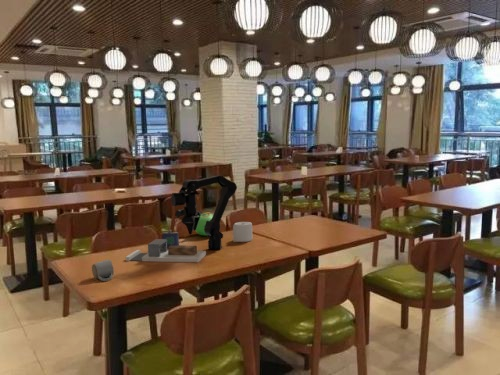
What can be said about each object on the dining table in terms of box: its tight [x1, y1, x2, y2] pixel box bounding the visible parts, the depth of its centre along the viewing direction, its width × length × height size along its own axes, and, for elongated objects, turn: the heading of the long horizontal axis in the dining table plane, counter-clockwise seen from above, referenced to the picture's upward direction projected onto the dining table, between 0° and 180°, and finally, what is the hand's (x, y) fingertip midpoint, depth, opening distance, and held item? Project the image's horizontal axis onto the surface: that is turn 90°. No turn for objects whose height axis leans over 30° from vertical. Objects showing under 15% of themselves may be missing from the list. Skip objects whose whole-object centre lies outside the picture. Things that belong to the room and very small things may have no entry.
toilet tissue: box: [232, 221, 254, 243], centre depth 263 cm, size 11×12×10 cm
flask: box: [161, 229, 180, 250], centre depth 250 cm, size 9×3×11 cm, turn 87°
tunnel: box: [147, 238, 168, 257], centre depth 232 cm, size 6×11×6 cm, turn 170°
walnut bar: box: [167, 244, 198, 256], centre depth 230 cm, size 14×4×4 cm, turn 79°
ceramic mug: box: [91, 259, 115, 282], centre depth 201 cm, size 11×8×8 cm
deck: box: [125, 249, 207, 263], centre depth 232 cm, size 39×14×2 cm, turn 80°
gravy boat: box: [194, 211, 214, 237], centre depth 279 cm, size 18×17×15 cm
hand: (192, 232), depth 237 cm, fingers open, 9 cm apart
